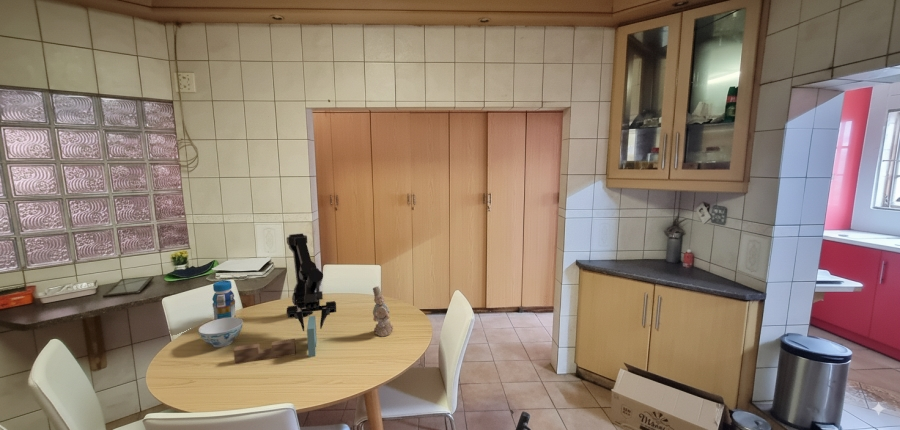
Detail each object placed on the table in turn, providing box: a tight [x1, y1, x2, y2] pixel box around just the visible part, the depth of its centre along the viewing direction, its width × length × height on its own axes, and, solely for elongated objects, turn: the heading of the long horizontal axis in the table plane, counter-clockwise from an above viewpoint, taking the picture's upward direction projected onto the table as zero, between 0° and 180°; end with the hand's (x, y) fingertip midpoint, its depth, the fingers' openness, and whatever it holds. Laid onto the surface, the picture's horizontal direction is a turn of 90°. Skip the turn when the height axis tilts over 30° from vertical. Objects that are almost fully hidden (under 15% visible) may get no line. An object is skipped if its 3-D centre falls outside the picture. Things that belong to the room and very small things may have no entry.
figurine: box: [372, 285, 394, 337], centre depth 150 cm, size 9×8×20 cm
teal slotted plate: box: [306, 315, 318, 358], centre depth 137 cm, size 12×2×11 cm, turn 18°
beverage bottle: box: [212, 280, 237, 320], centre depth 157 cm, size 8×8×20 cm
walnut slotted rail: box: [233, 338, 297, 364], centre depth 131 cm, size 20×3×5 cm, turn 108°
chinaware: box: [198, 316, 244, 348], centre depth 142 cm, size 15×15×8 cm
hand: (312, 329), depth 139 cm, fingers open, 6 cm apart
